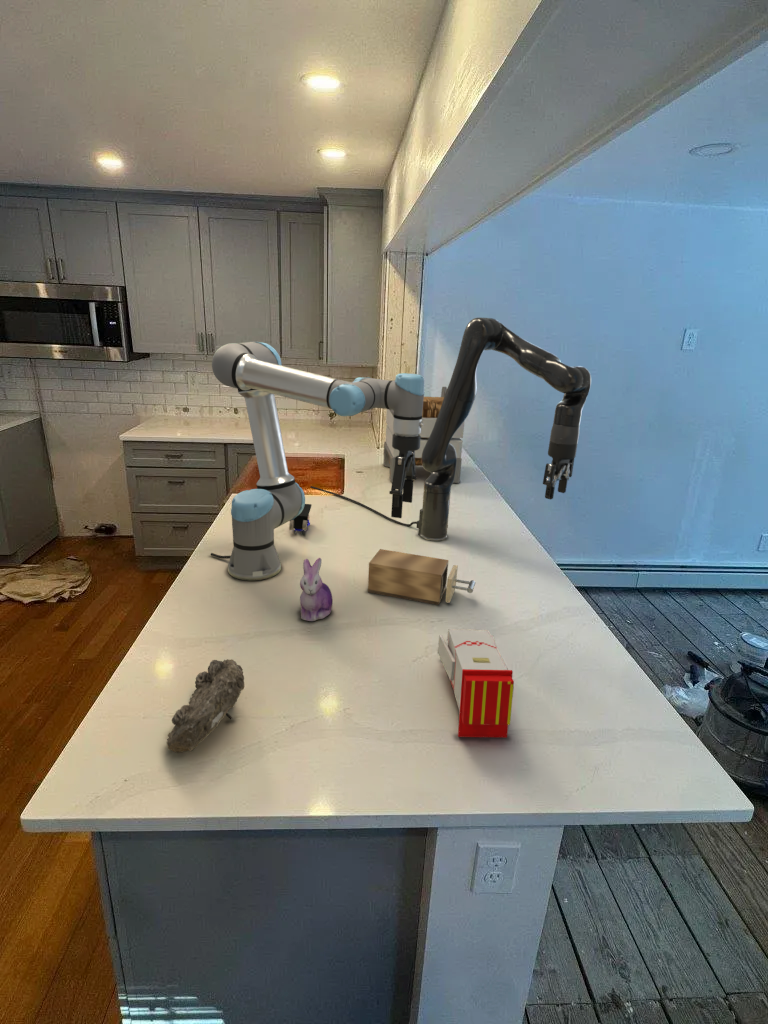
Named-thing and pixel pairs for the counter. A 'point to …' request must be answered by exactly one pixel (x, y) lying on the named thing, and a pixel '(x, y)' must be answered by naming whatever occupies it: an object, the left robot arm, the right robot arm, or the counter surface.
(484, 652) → the toy
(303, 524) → the figurine character
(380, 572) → the cabinet
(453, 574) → the drawer
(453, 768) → the counter surface
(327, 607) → the figurine
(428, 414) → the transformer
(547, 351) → the right robot arm
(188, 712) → the fossil
